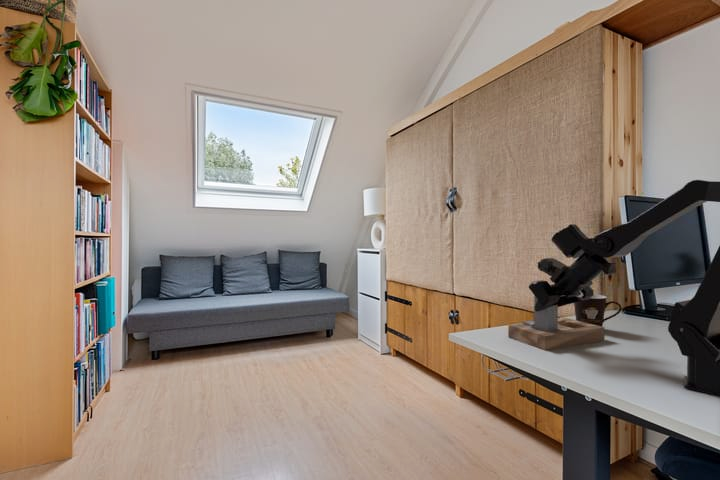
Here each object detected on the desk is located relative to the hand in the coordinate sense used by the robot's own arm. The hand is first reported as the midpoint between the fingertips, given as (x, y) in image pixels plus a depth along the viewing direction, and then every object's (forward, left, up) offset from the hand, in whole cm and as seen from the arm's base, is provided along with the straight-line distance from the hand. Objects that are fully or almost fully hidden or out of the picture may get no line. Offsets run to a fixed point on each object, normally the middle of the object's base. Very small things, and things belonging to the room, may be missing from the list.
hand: (541, 309), depth 98 cm
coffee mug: (+23, -8, -9) cm, 26 cm away
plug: (0, -1, -7) cm, 7 cm away
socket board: (+5, -2, -8) cm, 10 cm away
